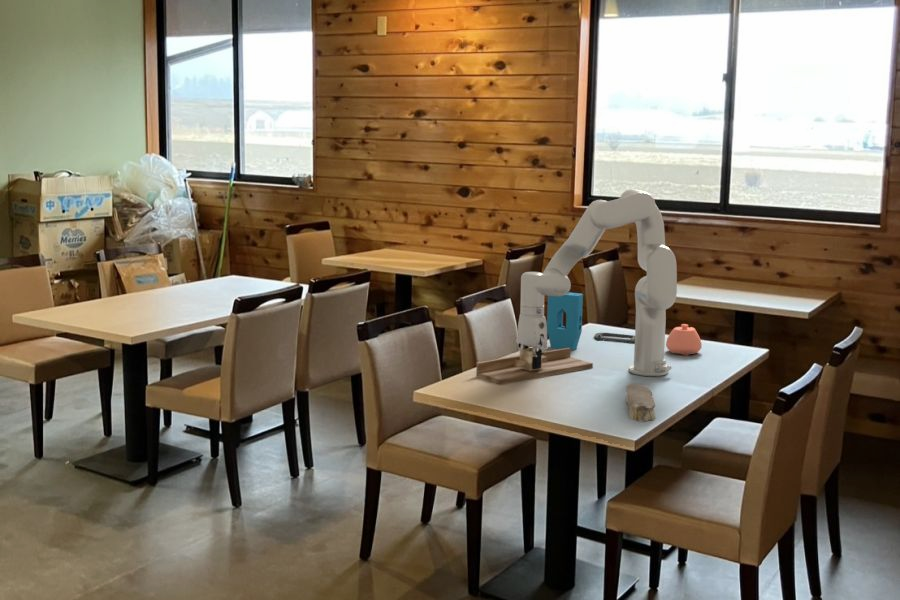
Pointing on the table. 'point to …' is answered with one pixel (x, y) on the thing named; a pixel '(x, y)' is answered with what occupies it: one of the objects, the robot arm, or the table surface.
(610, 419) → the table surface
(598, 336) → the c clamp
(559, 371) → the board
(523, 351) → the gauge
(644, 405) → the beige mottled oblong part
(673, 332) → the sugar bowl
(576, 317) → the block
